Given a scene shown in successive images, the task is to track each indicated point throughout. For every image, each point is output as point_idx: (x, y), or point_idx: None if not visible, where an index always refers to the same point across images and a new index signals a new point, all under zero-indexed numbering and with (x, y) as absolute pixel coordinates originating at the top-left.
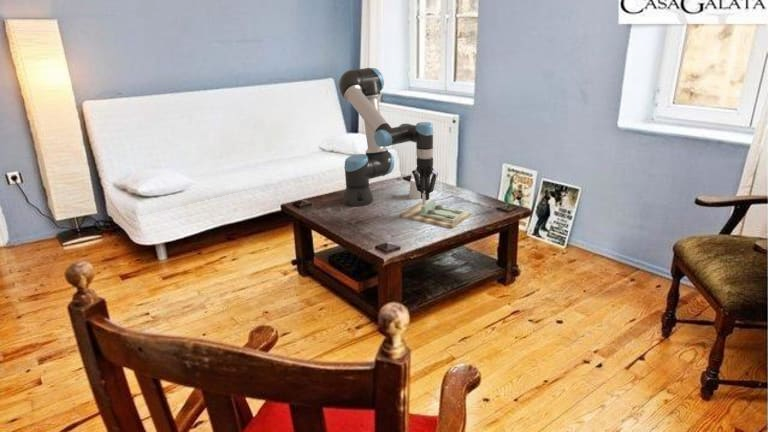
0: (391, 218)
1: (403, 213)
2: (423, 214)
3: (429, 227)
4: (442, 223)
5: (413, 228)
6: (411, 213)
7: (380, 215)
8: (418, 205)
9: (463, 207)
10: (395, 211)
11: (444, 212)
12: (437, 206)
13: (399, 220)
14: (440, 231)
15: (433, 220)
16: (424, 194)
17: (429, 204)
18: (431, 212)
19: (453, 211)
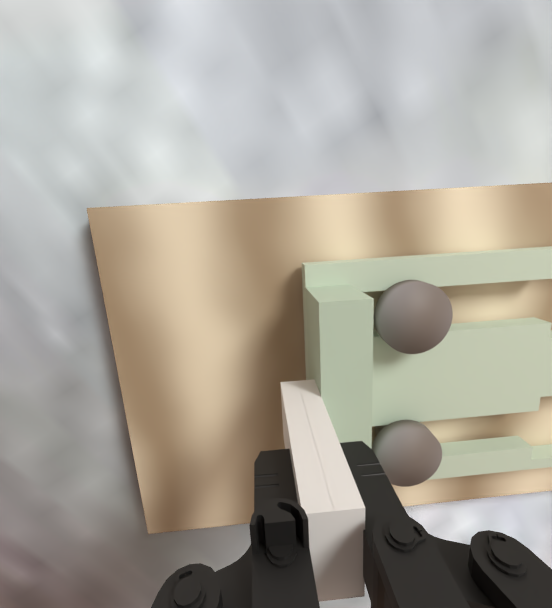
0: (132, 568)
1: (165, 509)
2: None
3: (445, 536)
4: (527, 491)
5: (365, 597)
6: (220, 476)
7: (21, 574)
8: (138, 290)
9: (523, 16)
10: (47, 460)
11: (494, 366)
12: (408, 335)
13: (205, 562)
14: (532, 542)
15: (447, 486)
16: (350, 583)
17: (371, 437)
18: (423, 477)
19: (543, 276)
